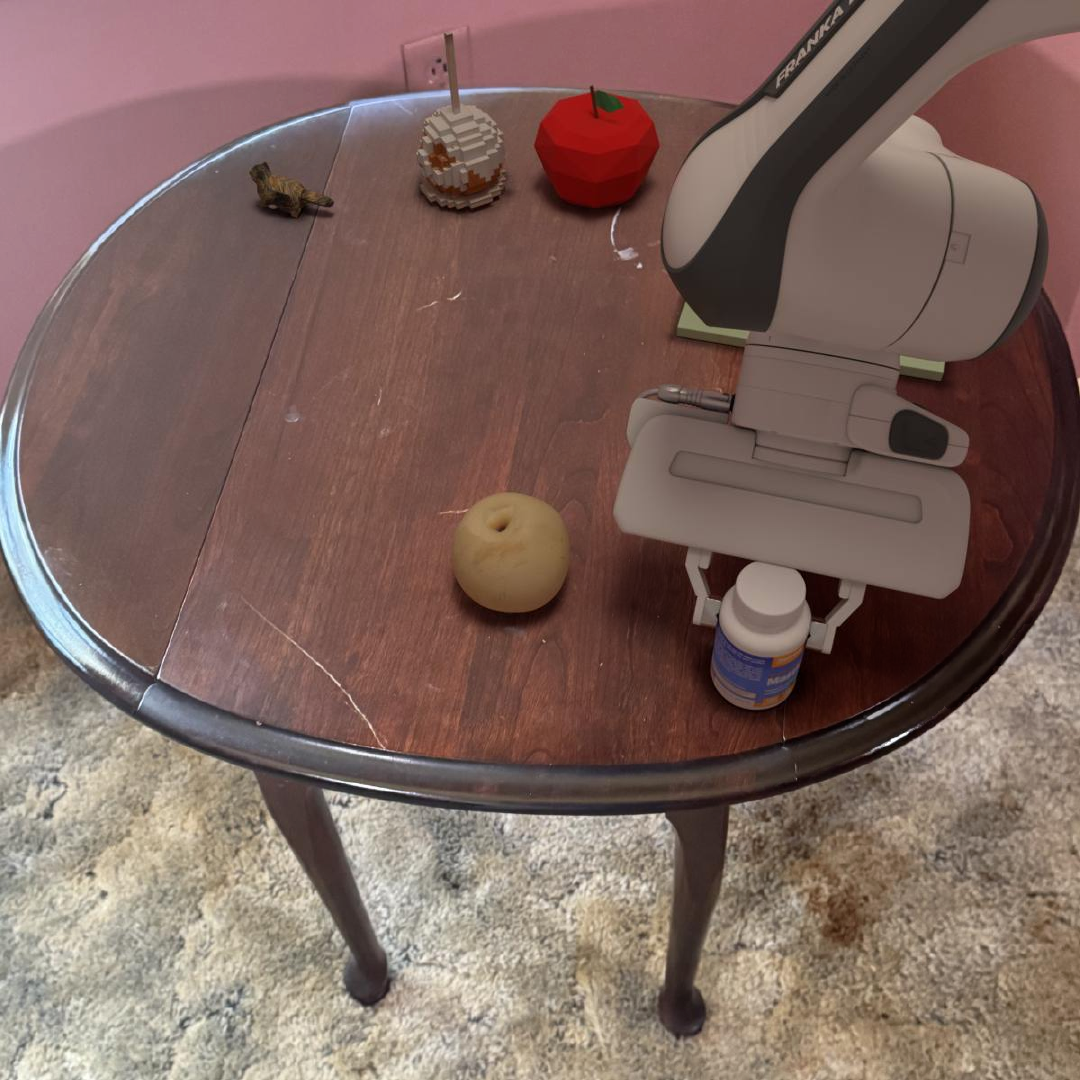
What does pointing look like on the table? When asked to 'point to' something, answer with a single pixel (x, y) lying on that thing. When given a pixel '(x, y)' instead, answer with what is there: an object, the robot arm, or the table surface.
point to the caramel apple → (460, 150)
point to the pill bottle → (761, 636)
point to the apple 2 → (596, 148)
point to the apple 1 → (511, 552)
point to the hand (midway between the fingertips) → (761, 637)
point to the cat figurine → (284, 191)
